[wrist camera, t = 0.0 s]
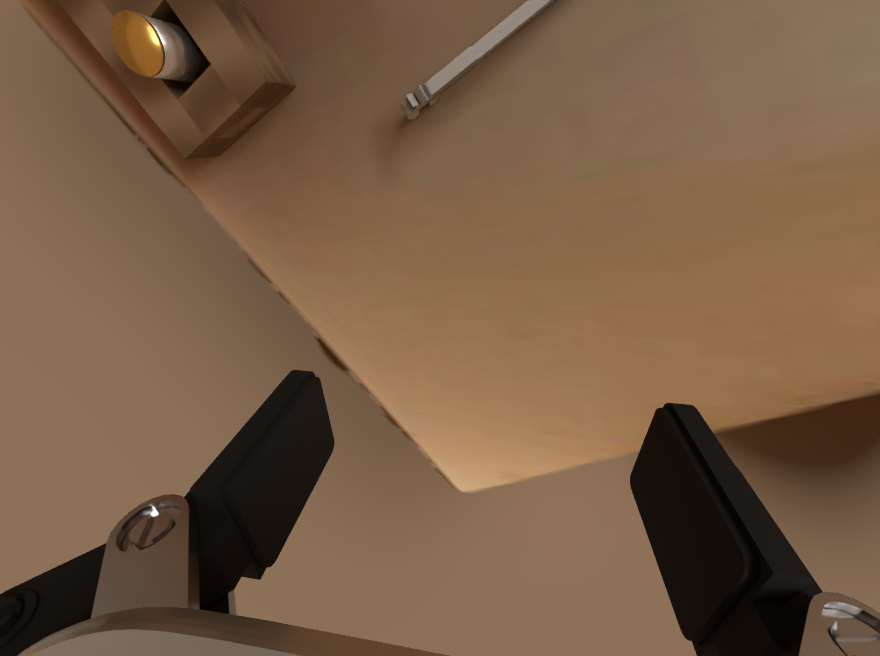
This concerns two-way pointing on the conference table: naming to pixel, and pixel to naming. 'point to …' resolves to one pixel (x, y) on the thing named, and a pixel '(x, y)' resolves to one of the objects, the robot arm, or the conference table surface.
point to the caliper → (470, 58)
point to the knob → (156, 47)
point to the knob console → (224, 78)
